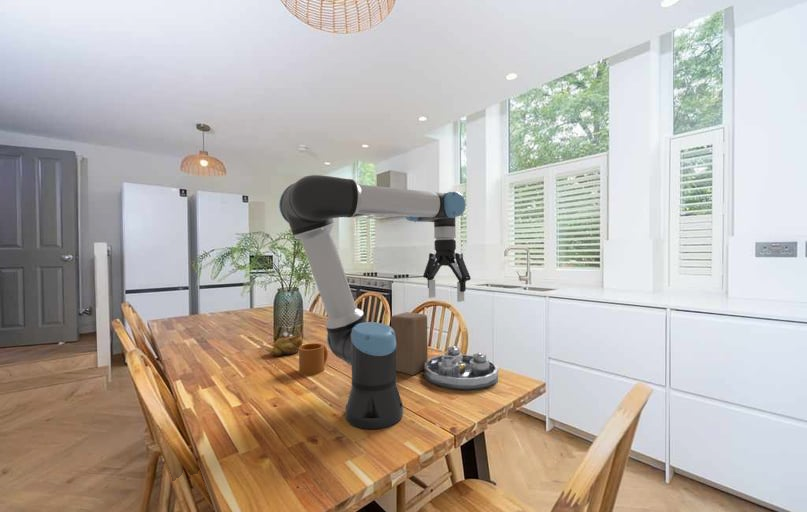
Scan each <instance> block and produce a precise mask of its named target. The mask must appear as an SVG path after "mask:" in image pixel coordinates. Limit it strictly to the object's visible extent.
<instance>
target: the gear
mask: <svg viewBox="0 0 807 512" xmlns="http://www.w3.org/2000/svg"><path fill="white" fill-rule="evenodd" d="M438 374H440V375H443V376H448V377H455V378H459V363H458V362H456V358H455V357H453V356H444V357H442V362H439V363H438Z"/></svg>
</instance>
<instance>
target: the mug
mask: <svg viewBox="0 0 807 512" xmlns="http://www.w3.org/2000/svg"><path fill="white" fill-rule="evenodd" d="M327 348H328V347H327V346H326V345H324V344H322V343H318V342H317V343H316V342H315V343H314V342H312V343H306V344H302V345H301V346H300V347H299V352H298V369H299V374H301V375H302V376H315V375H319V374H322V373H323V372H324V371H325V365H326V363H327V361H328V357H329V355H328V352H329V351H328V349H327Z"/></svg>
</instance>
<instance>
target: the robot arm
mask: <svg viewBox="0 0 807 512" xmlns="http://www.w3.org/2000/svg"><path fill="white" fill-rule="evenodd" d="M278 209H279V211H280V214H281V217H282V218H283V219H284V221H286V222H287V223H288V225H289V227H290V230H291V233H292V236H293V238H294V237H295V238H296V239H298V240H300V241H301V245H302V247H303V250H304V253H305V256H306V259H307V262H308V264H309V267H310V269H311V272H312V275H313V278H314V281H315V284H316V287H317V289H318V292H319V295H320V298H321V300H322V304H323V306H324V309H325V312H326V315H327V317H328V319H327V320H326V322H325V328H326V331H327V334H326V342H327V346H328V348H329V350H330V351H331V352H332V354H333V355H334V356H336V357H337V358H338V359H341V360H342V361H344V362H345V363H346V364H348V365H349V366H351V390H350V393H349V396H348V399H347V403H346V405H345V420H346V421H347V423H349V424H350V425H351V426H353V427H356V428H359V429H366V430H377V429H384V428H388V427H390V426H391V427H392V426H393V425H395V424H397V423H398V422H400V420H401V419H402V418H403V416H404V405H403V402H402V398H401V395H400V393H399V389H398V386H397V371H396V338H395V332H394V330H393V329H392V328H391V325H388V324H386V323H383V322H380V323H379V322H377V321H367V319H366V316H365V312H364V310H362V309H361V308H358V307H357V305H356V302H355V300H354V296H353V293H352V290H351V287H350V285H349V282H348V281H349V280H348V279H347V276H346V273H345V269H344V266H343V263H342V259H341V257H340V254H339V251H338V248H337V245H336V243H335V240H334V236H333V234H332V229H333V228H334V226H335V222H334V219H336V218H337V219H338V218H353V217H354V216H355V215H371V216H372V215H373V216H374V215H375V216H391V217H392V216H394V217H395V216H396V217H404V218H405V219H406V220H407V221H409V222H415V223H416V222H417V223H418V222H419V223H420V222H421V223H428V222H429V223H433V227H434V230H433V231H434V233H433V234H434V235H433V238H434V239H435V240H434V250H435V252H429V254H428V260H427V264H426V266H425V270H424V272H423V275H422V276H423V278H424V279H426V280H427V289H428V298H429V299H431V298H436V279H435V277H436V275H437V274H438V272H439V270H440V269H441V267H442V266H445V267H446V266H447V267H449V268H450V269H451V271H452V273H453V274H454V275H455V277H456V279H457V281H458V282H456V286H457V287H456V289H457V290H456V293H457V295H456V296H457V297H456V298H457V302H458V303H459V302H465V292H466V290H467V289H466V288H467V285H466V284H467V283H466V282H468V281H470V280H471V275H470V274H469V271H468V268H467V265H466V263H465V261H464V256H463V255H464V254H463V253H462V252H455V250H456V249H457V243H456V242H457V241H456V240H455V239H456V235H457V234H456V218H457V217H461V216H462V215H463V214H464V212H465V210H466V200H465V198H464V196H463V194H462V193H460V192H458V191H448V192H435V191H424V190H416V189H408V188H407V189H405V188H397V187H396V188H395V187H386V186H380V185H379V186H377V185H368V184H359V183H357V181H355V179H353V178H352V179H351V178H343V177H335V176H328V175H319V174H318V175H317V174H316V175H315V174H312V175H307V176H304V177H301V178H300V179H298V180H297V181H296V182H294V183H292V184H290V185H289V186H287V187H286V188H285V190H284V191H283V192H282V194H281V196H280V198H279V205H278Z"/></svg>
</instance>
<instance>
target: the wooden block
mask: <svg viewBox="0 0 807 512" xmlns="http://www.w3.org/2000/svg"><path fill="white" fill-rule="evenodd" d="M390 322H391V323H390V327H391V328H392V329H393V330H394V332H395V338H396V372H399V373H403V374H406V375H410V376H414V375H416V374H419V373H420V372H422V371H424V369H425V362H426V361H427V360H429V356H428V354H429V351H428V346H429V345H428V315H427V314H424V313H417V312H410V311H409V312H408V311H406V312H403V313H399V314H394V315H392V316H391V317H390Z"/></svg>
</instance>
